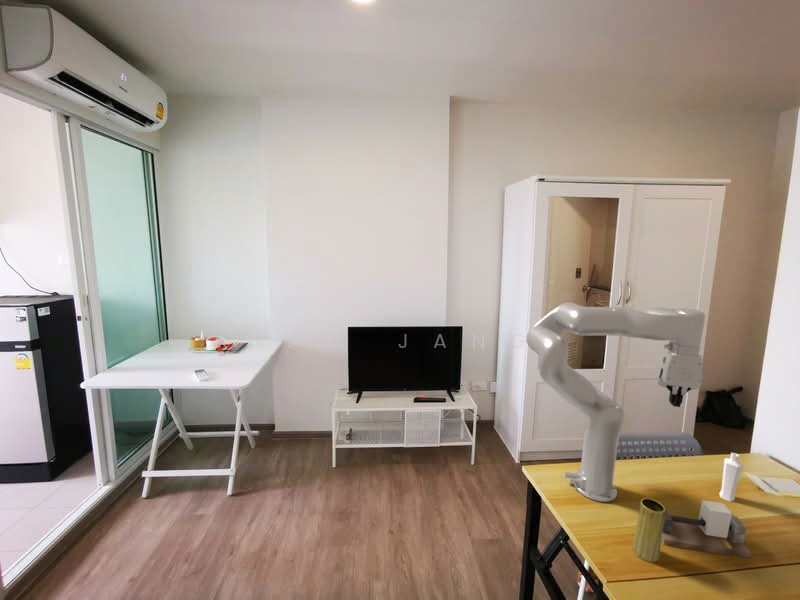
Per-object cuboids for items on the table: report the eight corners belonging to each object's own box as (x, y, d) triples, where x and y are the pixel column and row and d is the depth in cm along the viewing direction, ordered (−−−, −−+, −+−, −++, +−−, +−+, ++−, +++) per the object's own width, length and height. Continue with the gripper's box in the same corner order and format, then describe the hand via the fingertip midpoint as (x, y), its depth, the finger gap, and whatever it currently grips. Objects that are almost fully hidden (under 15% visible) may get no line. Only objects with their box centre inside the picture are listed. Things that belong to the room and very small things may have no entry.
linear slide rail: (663, 544, 104) (667, 523, 102) (648, 517, 113) (651, 497, 112) (749, 558, 100) (754, 536, 98) (726, 528, 109) (730, 508, 108)
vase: (659, 566, 97) (667, 517, 94) (631, 555, 100) (638, 507, 97) (658, 549, 102) (666, 502, 99) (632, 539, 105) (638, 493, 102)
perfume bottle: (713, 492, 124) (721, 450, 121) (725, 492, 124) (734, 450, 122) (726, 502, 120) (734, 459, 117) (739, 502, 120) (748, 458, 117)
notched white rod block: (705, 534, 104) (710, 510, 102) (697, 523, 108) (702, 500, 106) (726, 538, 103) (731, 513, 101) (718, 526, 107) (722, 503, 105)
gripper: (662, 351, 115) (653, 407, 119) (719, 355, 112) (708, 413, 116) (651, 343, 123) (643, 397, 126) (704, 347, 120) (695, 402, 123)
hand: (674, 404), depth 121 cm, fingers closed
